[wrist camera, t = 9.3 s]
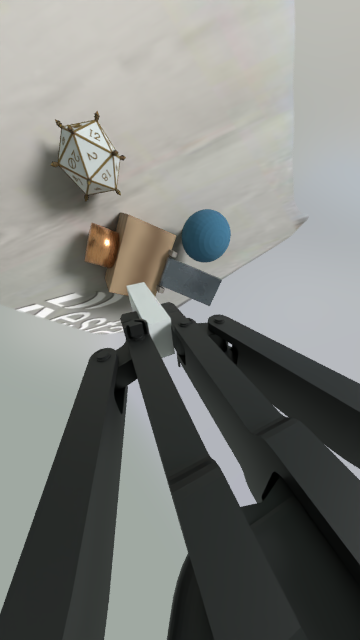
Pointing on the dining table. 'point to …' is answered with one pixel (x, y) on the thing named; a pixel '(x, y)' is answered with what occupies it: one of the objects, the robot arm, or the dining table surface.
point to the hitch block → (139, 255)
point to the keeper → (189, 281)
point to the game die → (88, 157)
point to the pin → (102, 246)
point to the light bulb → (206, 235)
